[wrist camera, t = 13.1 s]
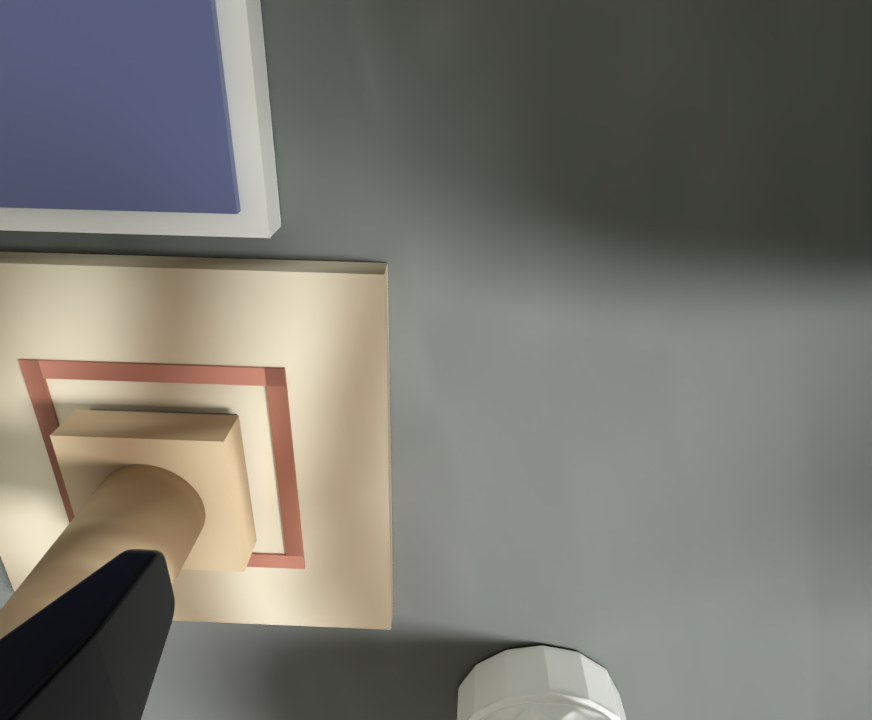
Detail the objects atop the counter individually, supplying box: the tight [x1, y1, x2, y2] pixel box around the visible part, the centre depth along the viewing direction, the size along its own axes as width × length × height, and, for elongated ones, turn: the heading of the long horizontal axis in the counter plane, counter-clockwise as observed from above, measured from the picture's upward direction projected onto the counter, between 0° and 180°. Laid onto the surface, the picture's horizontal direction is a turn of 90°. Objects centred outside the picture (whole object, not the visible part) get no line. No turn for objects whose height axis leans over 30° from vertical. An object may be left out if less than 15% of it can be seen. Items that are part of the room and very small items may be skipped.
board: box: [0, 252, 393, 630], centre depth 21 cm, size 14×14×1 cm
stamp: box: [0, 409, 257, 639], centre depth 18 cm, size 5×5×7 cm
